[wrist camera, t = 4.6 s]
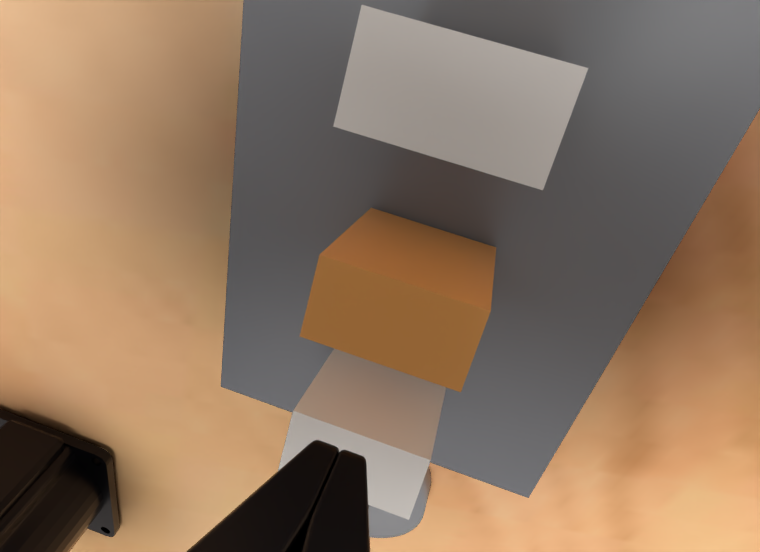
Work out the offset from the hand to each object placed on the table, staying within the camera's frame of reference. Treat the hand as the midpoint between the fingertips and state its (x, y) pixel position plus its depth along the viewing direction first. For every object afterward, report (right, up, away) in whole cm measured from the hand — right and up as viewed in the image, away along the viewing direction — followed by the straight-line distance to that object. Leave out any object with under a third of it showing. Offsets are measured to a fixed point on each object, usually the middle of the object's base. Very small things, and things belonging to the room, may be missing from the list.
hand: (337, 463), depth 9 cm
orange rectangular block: (+2, +3, +5) cm, 6 cm away
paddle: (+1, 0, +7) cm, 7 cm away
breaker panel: (+2, +4, +7) cm, 8 cm away
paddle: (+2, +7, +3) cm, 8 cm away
